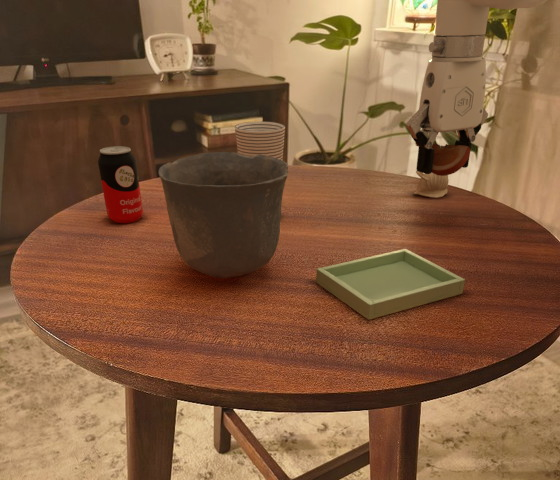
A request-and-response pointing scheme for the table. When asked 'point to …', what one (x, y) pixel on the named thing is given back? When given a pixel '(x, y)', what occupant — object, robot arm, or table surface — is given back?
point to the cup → (260, 139)
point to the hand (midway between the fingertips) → (442, 168)
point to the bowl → (225, 210)
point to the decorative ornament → (432, 185)
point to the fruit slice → (449, 158)
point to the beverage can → (120, 184)
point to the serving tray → (389, 283)
